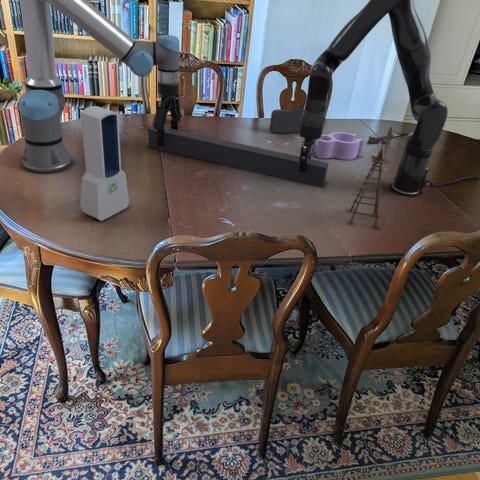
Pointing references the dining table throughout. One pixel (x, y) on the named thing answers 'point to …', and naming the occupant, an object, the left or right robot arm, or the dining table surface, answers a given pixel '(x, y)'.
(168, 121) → the lion figurine
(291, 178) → the bar
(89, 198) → the electronic device
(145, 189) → the dining table surface
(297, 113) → the handheld gaming console
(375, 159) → the miniature windmill
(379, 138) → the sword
